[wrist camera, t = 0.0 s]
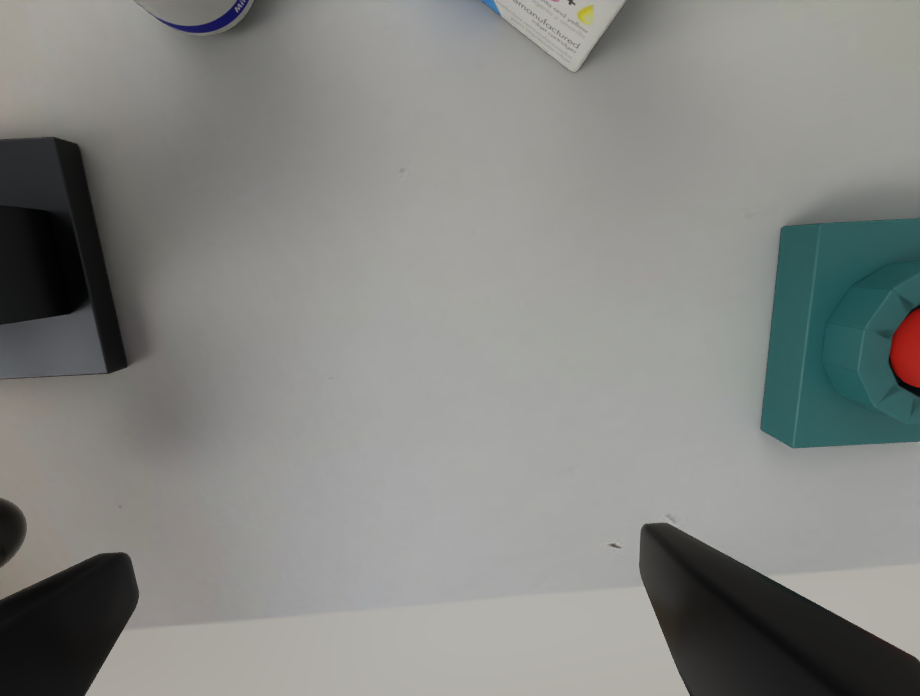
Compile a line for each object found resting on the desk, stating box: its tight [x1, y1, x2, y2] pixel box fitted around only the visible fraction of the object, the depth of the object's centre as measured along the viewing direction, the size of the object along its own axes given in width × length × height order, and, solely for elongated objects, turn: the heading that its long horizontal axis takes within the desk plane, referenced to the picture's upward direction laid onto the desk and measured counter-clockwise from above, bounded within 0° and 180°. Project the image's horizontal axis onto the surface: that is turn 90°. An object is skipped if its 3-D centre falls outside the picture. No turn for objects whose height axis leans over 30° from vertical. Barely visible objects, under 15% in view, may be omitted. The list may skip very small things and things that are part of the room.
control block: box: [761, 218, 920, 448], centre depth 19 cm, size 10×8×4 cm
